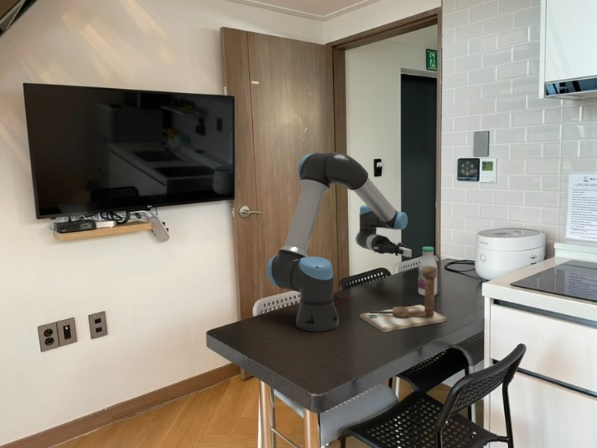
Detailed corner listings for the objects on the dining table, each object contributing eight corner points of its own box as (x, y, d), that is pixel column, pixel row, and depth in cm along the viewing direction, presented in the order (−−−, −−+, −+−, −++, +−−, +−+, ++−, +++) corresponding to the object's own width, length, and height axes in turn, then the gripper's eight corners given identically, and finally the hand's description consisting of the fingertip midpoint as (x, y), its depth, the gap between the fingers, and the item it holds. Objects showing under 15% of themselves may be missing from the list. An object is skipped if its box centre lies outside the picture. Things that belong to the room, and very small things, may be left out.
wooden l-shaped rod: (369, 316, 163) (369, 269, 161) (369, 311, 169) (368, 266, 166) (437, 317, 161) (438, 269, 158) (434, 312, 166) (435, 266, 164)
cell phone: (312, 304, 186) (312, 302, 186) (335, 296, 196) (335, 293, 196) (326, 308, 181) (326, 306, 180) (349, 299, 191) (349, 297, 191)
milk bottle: (435, 291, 198) (435, 245, 195) (438, 296, 190) (439, 249, 187) (416, 291, 199) (417, 245, 196) (419, 296, 191) (420, 249, 188)
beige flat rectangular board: (382, 332, 154) (382, 327, 153) (360, 317, 169) (360, 313, 168) (447, 321, 162) (447, 316, 162) (420, 307, 177) (420, 303, 177)
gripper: (391, 251, 199) (424, 261, 177) (365, 253, 195) (394, 264, 172) (392, 234, 198) (424, 242, 176) (365, 236, 194) (395, 245, 171)
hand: (409, 253), depth 174 cm, fingers closed
